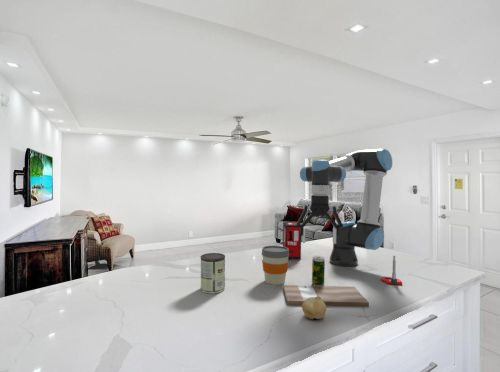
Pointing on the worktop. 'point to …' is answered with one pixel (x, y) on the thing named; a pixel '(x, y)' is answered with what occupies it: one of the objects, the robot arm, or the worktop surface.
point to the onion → (314, 307)
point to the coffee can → (212, 273)
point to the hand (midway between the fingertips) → (319, 242)
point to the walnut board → (325, 295)
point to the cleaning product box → (292, 239)
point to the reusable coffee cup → (275, 264)
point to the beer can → (318, 270)
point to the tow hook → (393, 278)
